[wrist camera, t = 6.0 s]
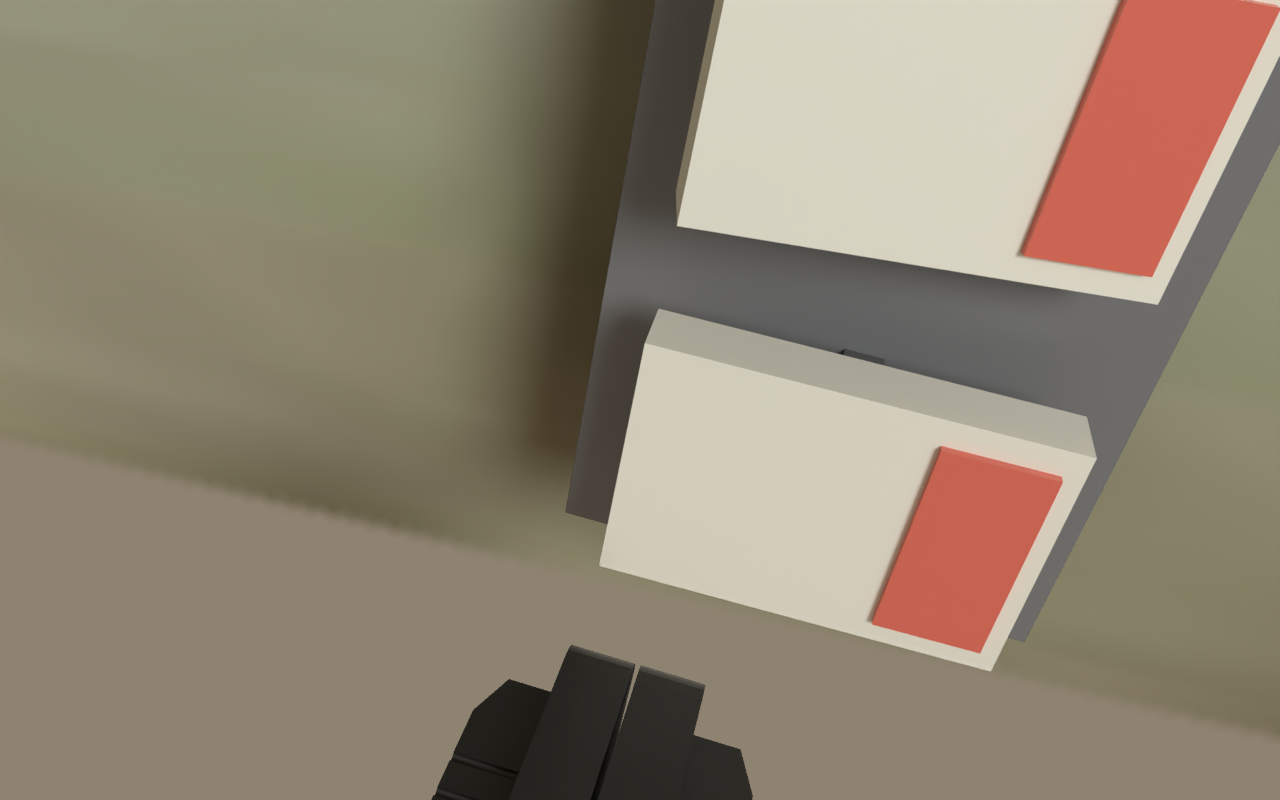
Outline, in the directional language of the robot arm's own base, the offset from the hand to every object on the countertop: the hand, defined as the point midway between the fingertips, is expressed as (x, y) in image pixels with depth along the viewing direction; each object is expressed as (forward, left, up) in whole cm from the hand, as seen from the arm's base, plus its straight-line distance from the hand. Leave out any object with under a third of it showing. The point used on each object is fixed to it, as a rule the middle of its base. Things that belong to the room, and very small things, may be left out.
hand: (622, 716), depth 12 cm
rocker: (-2, 0, -5) cm, 5 cm away
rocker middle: (-2, -6, -5) cm, 8 cm away
